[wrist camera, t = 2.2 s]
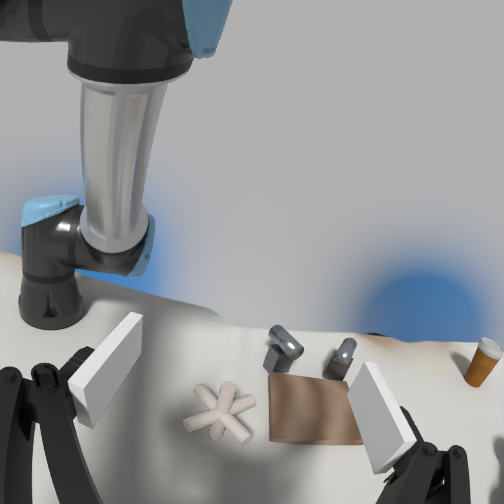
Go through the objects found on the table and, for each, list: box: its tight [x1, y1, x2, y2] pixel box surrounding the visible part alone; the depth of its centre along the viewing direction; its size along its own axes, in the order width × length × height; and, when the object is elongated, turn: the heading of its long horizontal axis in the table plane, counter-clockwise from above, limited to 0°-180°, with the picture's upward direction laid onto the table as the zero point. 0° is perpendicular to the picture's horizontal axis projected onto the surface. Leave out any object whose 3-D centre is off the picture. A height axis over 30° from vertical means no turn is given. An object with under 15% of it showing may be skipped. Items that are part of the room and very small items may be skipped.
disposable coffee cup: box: [464, 338, 504, 387], centre depth 48 cm, size 10×10×12 cm
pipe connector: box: [183, 381, 256, 445], centre depth 29 cm, size 10×10×10 cm
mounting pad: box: [268, 371, 364, 445], centre depth 38 cm, size 15×15×2 cm
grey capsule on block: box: [263, 325, 304, 374], centre depth 47 cm, size 7×4×8 cm, turn 28°
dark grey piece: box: [323, 338, 357, 381], centre depth 48 cm, size 7×4×8 cm, turn 148°
